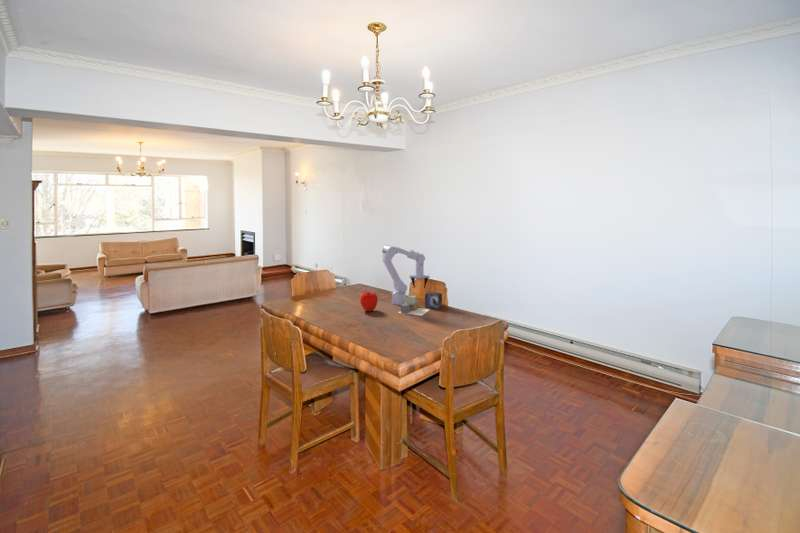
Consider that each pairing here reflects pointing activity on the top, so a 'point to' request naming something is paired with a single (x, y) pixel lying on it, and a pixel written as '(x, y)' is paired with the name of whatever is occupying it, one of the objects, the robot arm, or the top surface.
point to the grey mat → (417, 311)
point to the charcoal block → (405, 308)
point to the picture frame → (433, 300)
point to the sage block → (411, 300)
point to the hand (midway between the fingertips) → (419, 287)
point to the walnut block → (413, 307)
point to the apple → (368, 301)
